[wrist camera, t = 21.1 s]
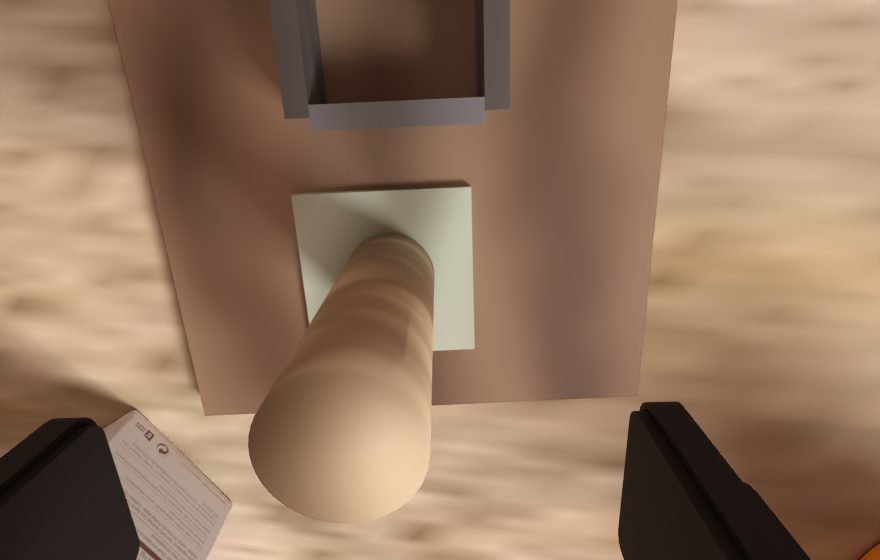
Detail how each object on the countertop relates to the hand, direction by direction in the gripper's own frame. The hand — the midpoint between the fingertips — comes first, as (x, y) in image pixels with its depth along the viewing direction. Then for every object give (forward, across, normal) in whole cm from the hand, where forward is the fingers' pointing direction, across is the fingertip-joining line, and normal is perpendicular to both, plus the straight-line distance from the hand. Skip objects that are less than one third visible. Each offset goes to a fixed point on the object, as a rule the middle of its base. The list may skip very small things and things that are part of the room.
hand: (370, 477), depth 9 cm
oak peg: (+12, +1, 0) cm, 12 cm away
